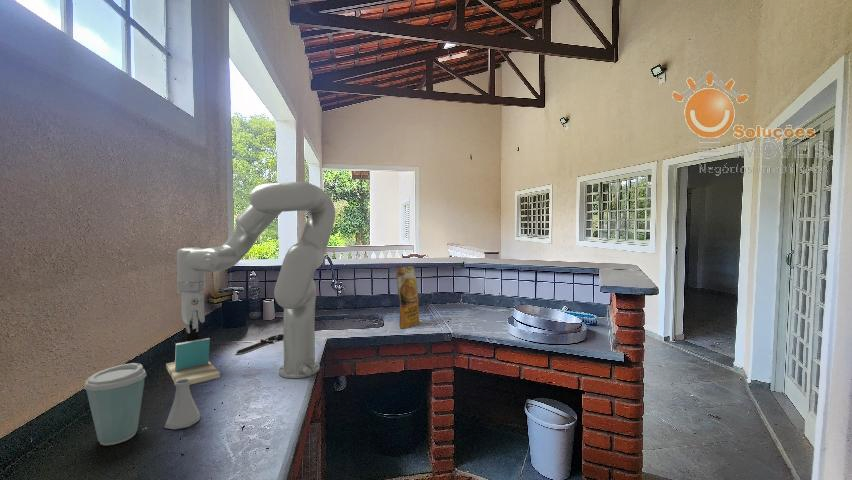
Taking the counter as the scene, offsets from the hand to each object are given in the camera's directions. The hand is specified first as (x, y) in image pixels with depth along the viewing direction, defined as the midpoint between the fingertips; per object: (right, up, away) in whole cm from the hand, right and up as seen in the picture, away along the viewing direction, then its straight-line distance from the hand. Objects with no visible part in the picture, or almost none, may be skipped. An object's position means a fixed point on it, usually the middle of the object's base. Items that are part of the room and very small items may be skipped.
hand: (192, 344), depth 119 cm
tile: (0, -3, 0) cm, 3 cm away
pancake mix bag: (+66, -8, +60) cm, 89 cm away
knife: (+10, -9, +28) cm, 31 cm away
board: (0, -9, 0) cm, 9 cm away
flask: (+16, -11, -29) cm, 35 cm away
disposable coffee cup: (+6, -11, -36) cm, 38 cm away
